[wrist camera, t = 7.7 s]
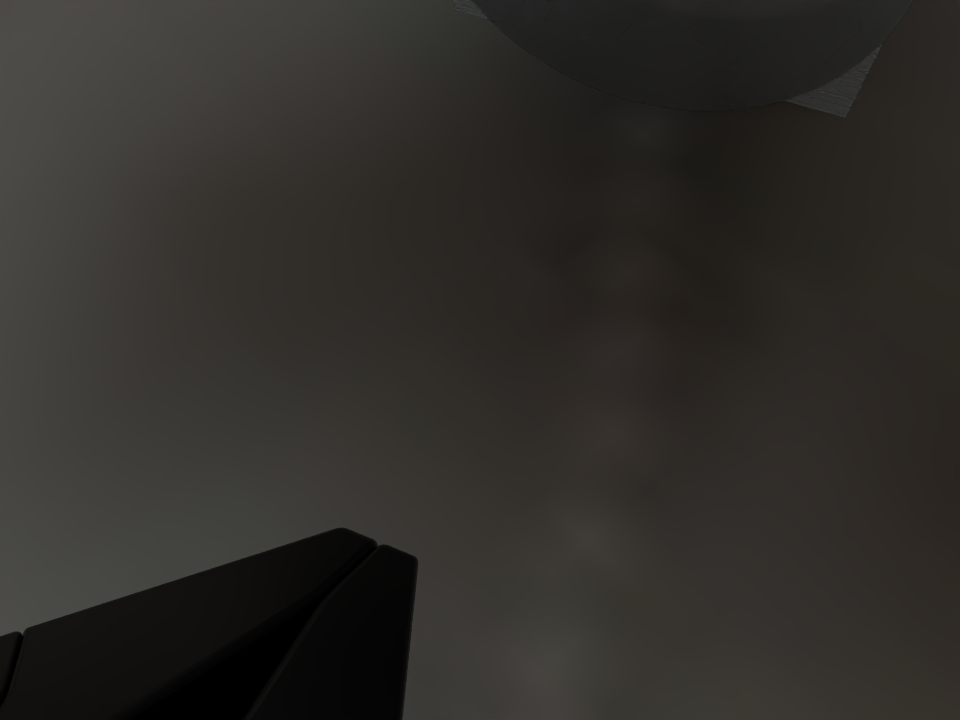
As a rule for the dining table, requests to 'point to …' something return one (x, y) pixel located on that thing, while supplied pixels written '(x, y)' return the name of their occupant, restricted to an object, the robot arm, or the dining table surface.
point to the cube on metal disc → (705, 47)
